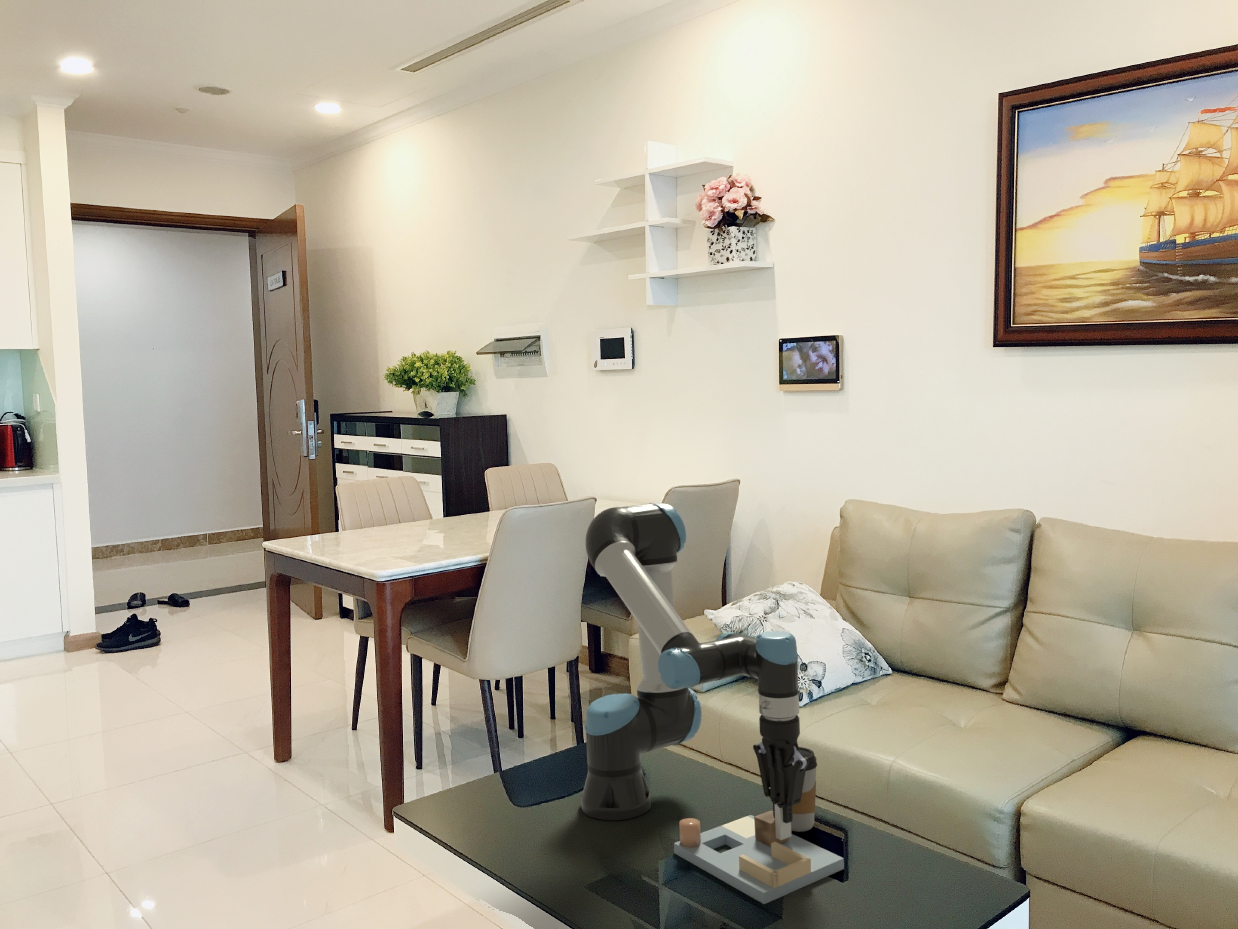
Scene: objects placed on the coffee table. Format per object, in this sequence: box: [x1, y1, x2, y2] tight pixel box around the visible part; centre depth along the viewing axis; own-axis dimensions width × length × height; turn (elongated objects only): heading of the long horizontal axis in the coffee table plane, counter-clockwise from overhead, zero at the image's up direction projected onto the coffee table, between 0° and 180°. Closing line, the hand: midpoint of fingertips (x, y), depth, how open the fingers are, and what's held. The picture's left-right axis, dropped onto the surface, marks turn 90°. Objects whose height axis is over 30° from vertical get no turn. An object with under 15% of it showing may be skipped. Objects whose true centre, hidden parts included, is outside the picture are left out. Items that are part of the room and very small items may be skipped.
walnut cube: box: [754, 809, 789, 847], centre depth 186 cm, size 4×4×4 cm
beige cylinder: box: [678, 817, 702, 848], centre depth 186 cm, size 4×4×4 cm
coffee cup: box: [791, 746, 818, 832], centre depth 196 cm, size 8×8×15 cm
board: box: [673, 814, 845, 905], centre depth 182 cm, size 25×20×4 cm
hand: (783, 837), depth 183 cm, fingers closed
